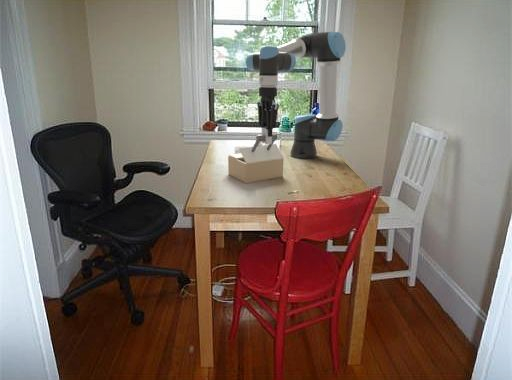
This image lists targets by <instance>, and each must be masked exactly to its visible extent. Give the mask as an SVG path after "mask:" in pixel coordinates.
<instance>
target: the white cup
mask: <svg viewBox="0 0 512 380" xmlns="http://www.w3.org/2000/svg"><path fill="white" fill-rule="evenodd" d="M246 147H247V146H243V145H242V146H235V147H234V154H239V153H241V152H240V150H239V148H246Z"/></svg>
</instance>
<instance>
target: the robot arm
mask: <svg viewBox="0 0 512 380" xmlns="http://www.w3.org/2000/svg"><path fill="white" fill-rule="evenodd" d="M346 50H347V49H346V40H345V38H344V36H343V34H342V33H341V32H339V31H327V32H326V31H325V32H324V31H323V32H311V33H307V34H304V35H301V36H299V37H296V38H294V39H292V40H291V41H290V42H288V43H285V44H281V45H279V46H275V45H263V46H260V48H259V52H253V53H249V54H247V56H246V57H245V65H246V68H247V69H248V70H249V71H252V72H253V71H254V72H258V73H259V77H258V80H259V81H258V84H259V87H258V96H259V97H261V98H260V101H257V102H256V104H257V112H258V113H257V115H258V116H257V118H258V126H260V127H261V136H262V135H266V141H261V144H265V145H269V144H272V134H273V129H276V128H277V121H278V113H279V107H280V105H279V103H276V100H275V98H276V97H277V96H278V88H277V86H278V78H279V76H278V73H279V72H286V73H288V72H291V71H293V70H294V69H295V67H296V64H297V60H298V59H302V58H303V59H304V58H316V63H317V64H318V65H319V80H318V81H319V83H318V85H319V87H318V89H319V93H318V95H319V96H318V98H319V99H318V103H319V104H318V107H319V108H318V113H317V114H304V115H298V116H296V117H295V118H294V126H293V127H294V132H293V133H294V135H293V144H292V147H291V149H290V157H292V158H294V159H295V158H296V159H303V160H304V159H314V158H317V156H318V151H317V147H316V141H315V140H319V141H326V142H335V141H337V140H338V139H339V138H340V136H341V135H342V131H343V121H342V120H341V119H339V114H338V113H337V108H336V107H337V82H338V79H337V77H338V64H339V63H340V62H341V58H343V57H344V56H345V52H346Z"/></svg>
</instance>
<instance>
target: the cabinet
mask: <svg viewBox="0 0 512 380" xmlns="http://www.w3.org/2000/svg"><path fill="white" fill-rule="evenodd" d="M227 161H228V163H227V164H228V165H227V166H228V167H227V168H228V169H227V170H228V175H229V176H231V178H234V179H236V180H238V181H240V182H241V183H243V184H245V185H247V184H251V182H252V183H256V182H263V181H267V180H268V181H269V180H273V179H279V178H283V177H284V157H283V158H281V159H274V160H267V161H260V162H253V163H246V162H245V160H244V158H243V156H242V154H241V153H239V154H235V153H233V154H232V153H231V154H229V155H228V157H227Z"/></svg>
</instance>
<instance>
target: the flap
mask: <svg viewBox="0 0 512 380" xmlns="http://www.w3.org/2000/svg"><path fill="white" fill-rule="evenodd" d="M277 139H278V134H276V133H275V134H274V133H272V144H265V145H259V144H260V142H262V141H266V135H262V134H261V135H257V136H256V140H255V143H254V144H253V146H245V147H246V148H239V150H240V152H241V154H242V156H243V158H244V160H245V162H246V163H253V162H260V161H267V160H274V159H281V158H283V159H284V156H283V154H282V152H281V151H280V149H279V147H278V145H277V143H275V141H276V140H277Z"/></svg>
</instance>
